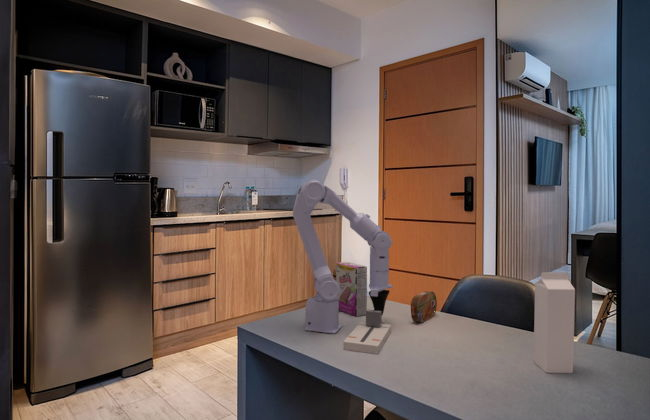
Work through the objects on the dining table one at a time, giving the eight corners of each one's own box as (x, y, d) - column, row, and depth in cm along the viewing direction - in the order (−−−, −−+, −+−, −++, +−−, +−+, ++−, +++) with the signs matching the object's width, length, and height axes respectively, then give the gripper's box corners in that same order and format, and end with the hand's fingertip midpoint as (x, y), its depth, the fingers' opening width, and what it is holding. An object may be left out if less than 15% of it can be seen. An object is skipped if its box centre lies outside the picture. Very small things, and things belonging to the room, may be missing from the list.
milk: (533, 362, 97) (534, 269, 96) (559, 362, 97) (560, 270, 96) (546, 373, 91) (547, 274, 90) (574, 373, 91) (575, 274, 90)
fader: (365, 325, 117) (365, 311, 116) (367, 323, 119) (367, 309, 119) (379, 327, 115) (379, 312, 115) (381, 324, 118) (381, 310, 117)
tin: (418, 326, 124) (418, 298, 124) (408, 323, 126) (408, 296, 126) (437, 314, 136) (437, 289, 136) (428, 313, 138) (428, 288, 138)
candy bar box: (334, 309, 141) (334, 262, 141) (345, 307, 144) (346, 261, 144) (356, 317, 132) (356, 267, 132) (367, 315, 135) (367, 265, 135)
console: (343, 349, 105) (343, 341, 104) (361, 328, 121) (361, 321, 121) (377, 354, 102) (377, 345, 101) (391, 331, 118) (391, 324, 118)
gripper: (387, 275, 115) (387, 323, 115) (396, 266, 129) (396, 309, 129) (363, 273, 117) (363, 320, 118) (374, 265, 131) (374, 307, 131)
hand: (379, 314), depth 124 cm, fingers closed
